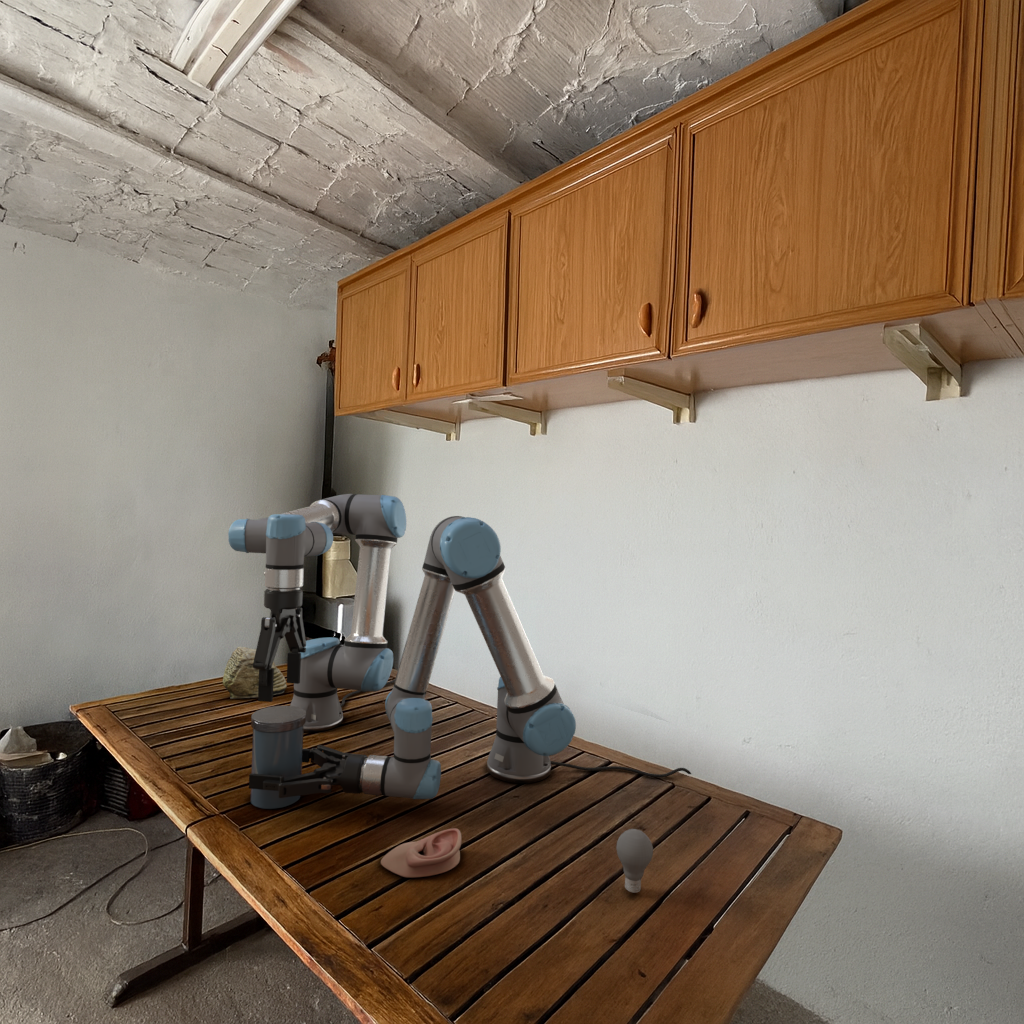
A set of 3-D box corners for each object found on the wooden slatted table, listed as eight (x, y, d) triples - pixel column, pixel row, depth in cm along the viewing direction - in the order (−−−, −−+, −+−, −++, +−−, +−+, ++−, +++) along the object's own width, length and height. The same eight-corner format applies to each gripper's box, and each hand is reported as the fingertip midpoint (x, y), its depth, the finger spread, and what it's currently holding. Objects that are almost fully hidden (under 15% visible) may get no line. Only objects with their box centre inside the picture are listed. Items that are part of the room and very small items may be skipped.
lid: (313, 715, 137) (313, 707, 137) (293, 734, 127) (294, 724, 127) (264, 713, 138) (265, 704, 138) (241, 730, 127) (241, 721, 127)
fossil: (218, 695, 195) (220, 647, 195) (278, 685, 208) (279, 640, 207) (228, 703, 189) (230, 653, 188) (289, 692, 201) (290, 645, 201)
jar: (308, 788, 137) (311, 709, 137) (289, 810, 127) (293, 725, 127) (263, 785, 138) (266, 707, 138) (241, 807, 128) (244, 722, 128)
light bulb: (610, 879, 108) (613, 822, 108) (644, 879, 109) (647, 822, 109) (619, 902, 102) (622, 840, 102) (655, 901, 103) (658, 840, 103)
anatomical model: (374, 849, 108) (399, 816, 119) (373, 872, 108) (398, 837, 119) (448, 861, 105) (467, 826, 116) (447, 885, 105) (466, 848, 116)
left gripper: (292, 580, 144) (288, 674, 145) (235, 595, 120) (231, 708, 121) (323, 582, 144) (320, 676, 144) (273, 598, 119) (269, 711, 120)
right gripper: (343, 822, 118) (234, 813, 120) (381, 767, 143) (290, 760, 145) (345, 783, 118) (235, 774, 120) (382, 734, 143) (291, 727, 145)
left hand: (280, 691), depth 132 cm, fingers open, 12 cm apart
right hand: (265, 766), depth 132 cm, fingers open, 13 cm apart
